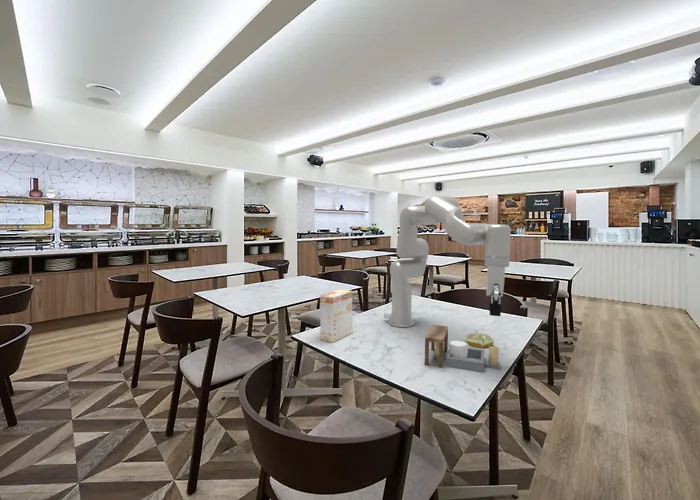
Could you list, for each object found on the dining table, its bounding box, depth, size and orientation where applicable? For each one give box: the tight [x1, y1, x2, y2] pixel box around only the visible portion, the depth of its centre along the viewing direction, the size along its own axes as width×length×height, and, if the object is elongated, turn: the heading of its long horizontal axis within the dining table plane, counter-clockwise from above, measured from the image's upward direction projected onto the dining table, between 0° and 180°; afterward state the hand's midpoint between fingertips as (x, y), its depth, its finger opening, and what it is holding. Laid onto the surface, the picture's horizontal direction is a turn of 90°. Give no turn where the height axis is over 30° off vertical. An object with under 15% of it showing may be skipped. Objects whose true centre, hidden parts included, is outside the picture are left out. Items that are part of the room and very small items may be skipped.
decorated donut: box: [464, 332, 494, 349], centre depth 132 cm, size 10×11×4 cm
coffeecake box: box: [319, 288, 354, 343], centre depth 142 cm, size 15×7×20 cm, turn 145°
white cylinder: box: [448, 339, 470, 360], centre depth 115 cm, size 7×7×7 cm
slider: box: [432, 342, 501, 373], centre depth 114 cm, size 22×12×6 cm, turn 67°
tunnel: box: [424, 324, 449, 368], centre depth 118 cm, size 6×15×10 cm, turn 157°
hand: (494, 311), depth 109 cm, fingers open, 9 cm apart
